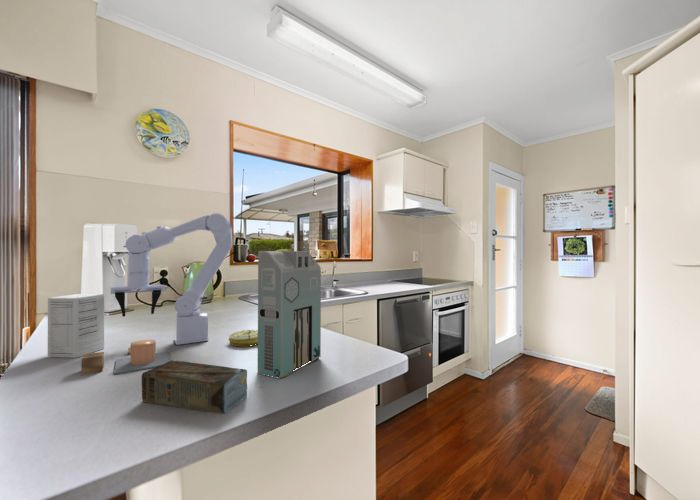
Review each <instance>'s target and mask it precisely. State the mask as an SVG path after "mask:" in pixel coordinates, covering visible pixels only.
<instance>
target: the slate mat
mask: <svg viewBox="0 0 700 500" xmlns="http://www.w3.org/2000/svg"><path fill="white" fill-rule="evenodd" d="M169 361H171V359H170V357H169V353H168V351H164V352H163V351H162V352H156V356H155V361H153V362H150V363H147V364H141V365H132V364H130V356H129V357H122V358H116V361H115V365H114V366H115V367H114V370H113V375H114V376H115V375H120V374H126V373H132V372H138V371H144V370H151V369H153V368H155V367H157V366H159V365H163V364H165V363H167V362H169Z"/></svg>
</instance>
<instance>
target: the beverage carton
mask: <svg viewBox="0 0 700 500" xmlns="http://www.w3.org/2000/svg"><path fill="white" fill-rule="evenodd" d="M247 396H248V370H247V369H243V368H235V367H231V366H230V367H229V366H221V365H216V364H215V365H213V364H207V363H198V362H191V361H182V360H171V359H170V361H169V362H167V363H165V364H163V365H159V366H157V367H155V368H150V369H147V371H144V372H142V374H141V400H142V403H147V404H156V405H162V406H168V407H169V406H170V407H175V408H182V409H186V410H193V411H200V412H206V413H207V412H208V413H214V414H215V413H216V414H222V415H225V414H226V413H228V412H229V411H230V410H231V409H233V408H234V407H235V406H237V405H238V404H240V403H241V402H242V401H243V400H245V399H246V398H247Z"/></svg>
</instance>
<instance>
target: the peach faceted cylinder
mask: <svg viewBox="0 0 700 500" xmlns="http://www.w3.org/2000/svg"><path fill="white" fill-rule="evenodd" d="M156 344H157V343H156V340H155V339H141V340H136V341H133V342H131V343H130V347H131V351H130V354H129V355H130V356H129V357H130V364H132V365H141V364H147V363H150V362H153V361H155V356H156V353H157V352H156Z"/></svg>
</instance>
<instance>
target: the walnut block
mask: <svg viewBox="0 0 700 500" xmlns="http://www.w3.org/2000/svg"><path fill="white" fill-rule="evenodd" d="M80 360H81V366H80V367H81V368H80V369H81V371H80V372H81V373H80V375H81V376H84V375H92V374H96V373H97V374H98V373H103V372H104V367H105V366H104V365H105V363H104V362H105V361H104V360H105V352H104V351H97V352H92V353H89V354H84V355H83V356H81V359H80Z"/></svg>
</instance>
